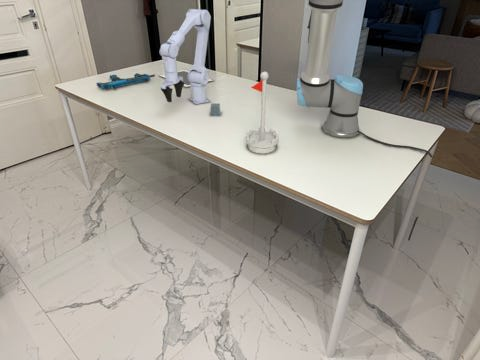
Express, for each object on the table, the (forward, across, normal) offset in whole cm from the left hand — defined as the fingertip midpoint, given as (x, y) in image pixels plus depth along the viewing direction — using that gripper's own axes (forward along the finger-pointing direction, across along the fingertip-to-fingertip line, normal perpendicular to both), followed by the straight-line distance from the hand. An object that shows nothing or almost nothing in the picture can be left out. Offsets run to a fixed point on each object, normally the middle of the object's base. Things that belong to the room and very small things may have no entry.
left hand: (174, 99), depth 165 cm
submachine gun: (+7, -27, -57) cm, 63 cm away
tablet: (+7, -50, -28) cm, 57 cm away
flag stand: (+7, +15, +54) cm, 56 cm away
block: (+7, -7, +19) cm, 21 cm away
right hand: (-23, -49, +53) cm, 76 cm away
